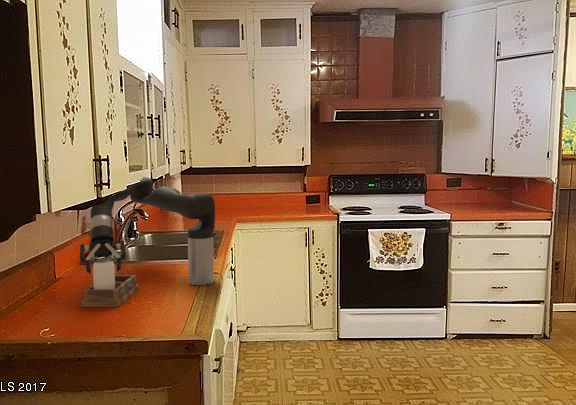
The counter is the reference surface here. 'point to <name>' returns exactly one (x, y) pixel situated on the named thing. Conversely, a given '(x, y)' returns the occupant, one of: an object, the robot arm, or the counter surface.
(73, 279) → the counter surface
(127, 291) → the tray
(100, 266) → the can
